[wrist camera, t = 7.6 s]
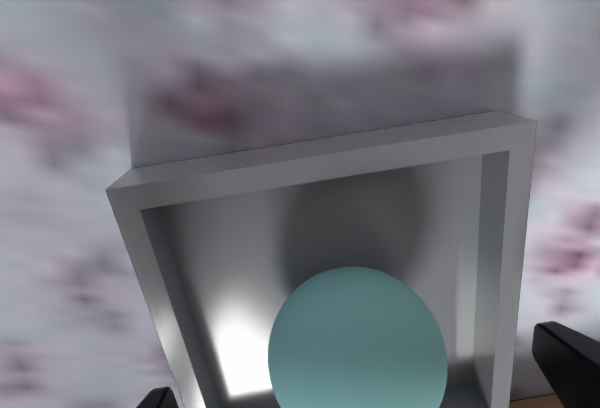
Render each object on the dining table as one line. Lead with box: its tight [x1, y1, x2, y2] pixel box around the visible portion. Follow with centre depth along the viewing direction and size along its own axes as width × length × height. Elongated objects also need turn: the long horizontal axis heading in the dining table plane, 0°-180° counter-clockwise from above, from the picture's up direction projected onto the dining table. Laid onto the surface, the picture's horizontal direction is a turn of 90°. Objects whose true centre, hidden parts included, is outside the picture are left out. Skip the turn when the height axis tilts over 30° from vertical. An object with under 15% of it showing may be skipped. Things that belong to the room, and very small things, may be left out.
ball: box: [268, 266, 447, 408], centre depth 9 cm, size 4×4×4 cm
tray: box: [106, 111, 537, 408], centre depth 11 cm, size 10×10×2 cm
